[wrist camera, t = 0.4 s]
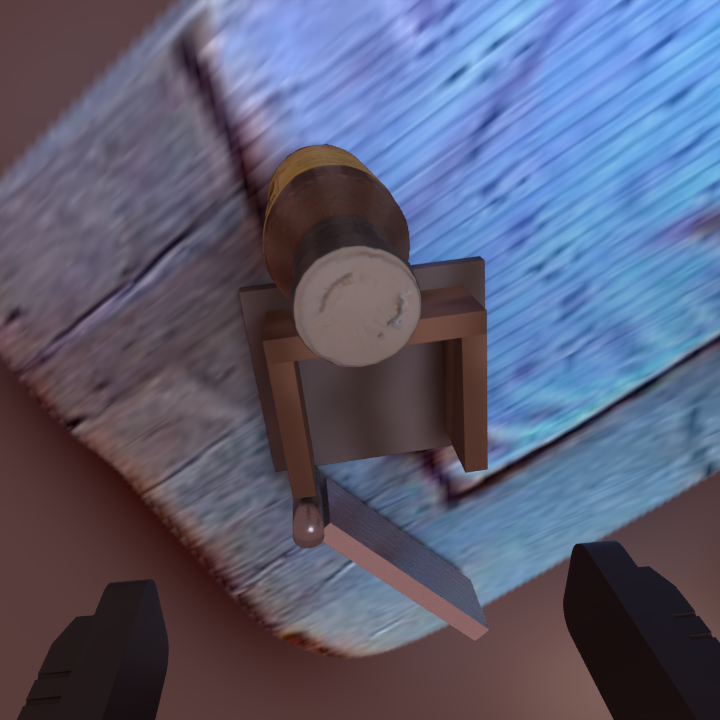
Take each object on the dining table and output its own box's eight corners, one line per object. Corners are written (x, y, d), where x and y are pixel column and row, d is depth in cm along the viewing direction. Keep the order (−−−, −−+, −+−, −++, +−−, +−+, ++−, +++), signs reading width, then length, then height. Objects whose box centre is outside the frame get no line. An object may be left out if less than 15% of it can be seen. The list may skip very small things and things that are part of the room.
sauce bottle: (252, 165, 33) (207, 236, 15) (350, 126, 33) (421, 151, 15) (294, 263, 36) (298, 421, 18) (385, 228, 36) (480, 353, 18)
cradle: (479, 256, 37) (511, 281, 32) (481, 433, 43) (509, 480, 38) (240, 288, 36) (230, 320, 31) (275, 464, 42) (273, 517, 37)
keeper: (287, 475, 41) (286, 538, 35) (305, 458, 40) (307, 518, 35) (455, 591, 48) (478, 659, 42) (472, 577, 47) (498, 644, 41)
